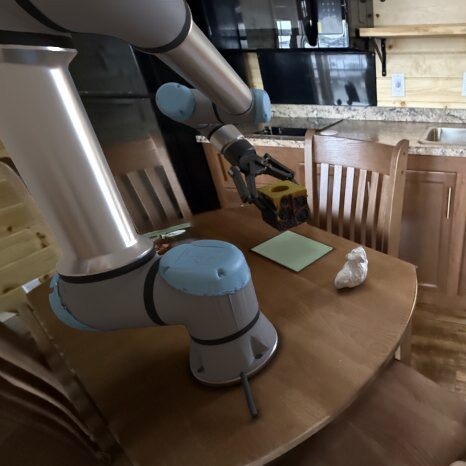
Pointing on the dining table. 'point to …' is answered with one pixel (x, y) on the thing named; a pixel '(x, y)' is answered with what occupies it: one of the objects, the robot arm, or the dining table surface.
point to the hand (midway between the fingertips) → (291, 207)
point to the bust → (353, 269)
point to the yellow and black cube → (286, 204)
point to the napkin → (292, 250)
